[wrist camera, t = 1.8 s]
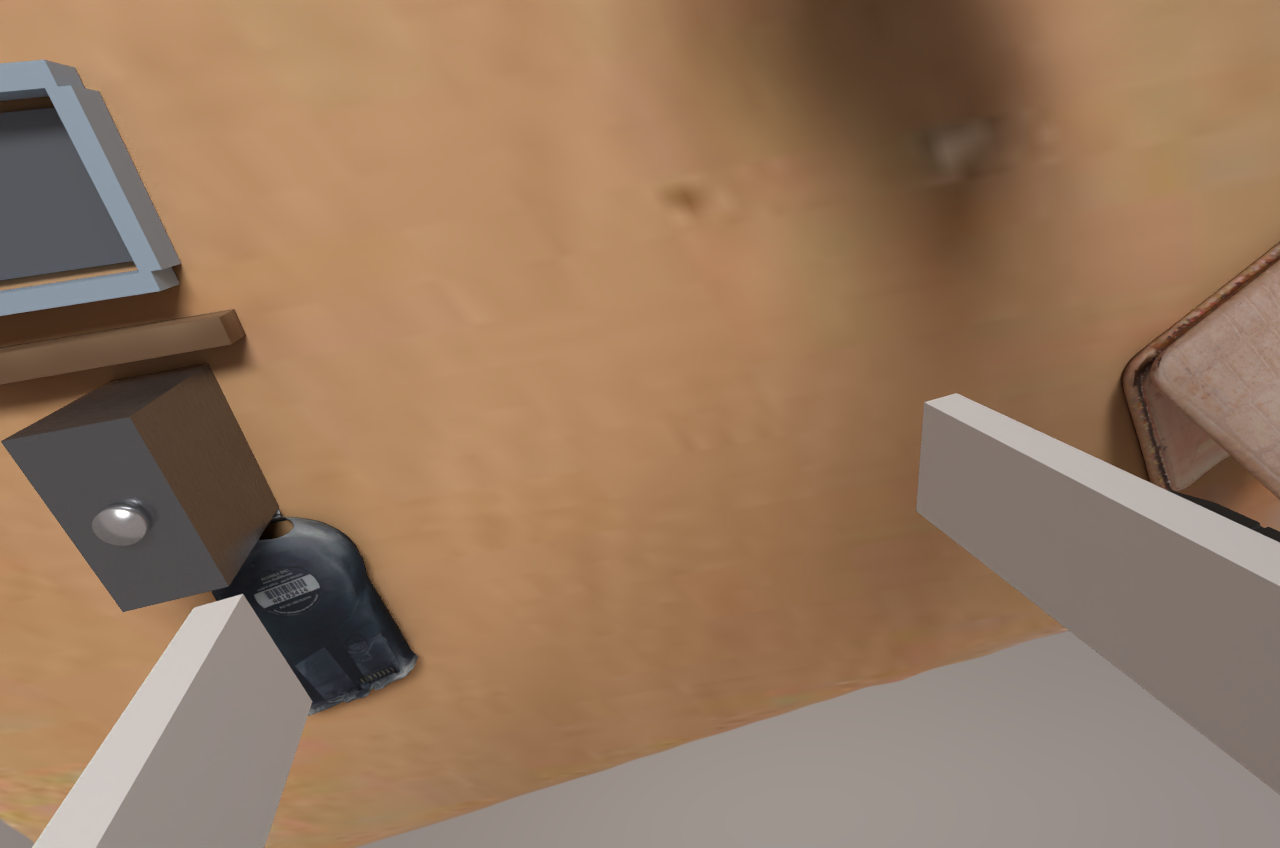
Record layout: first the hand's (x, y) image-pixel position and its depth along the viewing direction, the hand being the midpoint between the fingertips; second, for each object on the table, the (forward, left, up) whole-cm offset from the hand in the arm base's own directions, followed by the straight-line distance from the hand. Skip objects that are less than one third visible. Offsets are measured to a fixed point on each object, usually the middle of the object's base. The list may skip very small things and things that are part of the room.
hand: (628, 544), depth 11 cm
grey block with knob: (+6, -21, -27) cm, 35 cm away
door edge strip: (-1, -23, -27) cm, 36 cm away
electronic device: (+19, -19, -28) cm, 39 cm away
